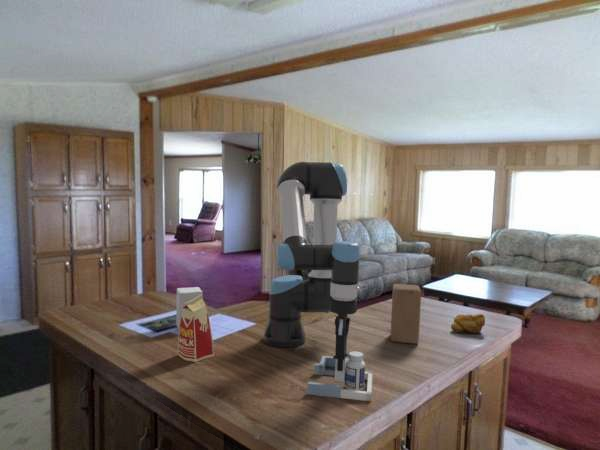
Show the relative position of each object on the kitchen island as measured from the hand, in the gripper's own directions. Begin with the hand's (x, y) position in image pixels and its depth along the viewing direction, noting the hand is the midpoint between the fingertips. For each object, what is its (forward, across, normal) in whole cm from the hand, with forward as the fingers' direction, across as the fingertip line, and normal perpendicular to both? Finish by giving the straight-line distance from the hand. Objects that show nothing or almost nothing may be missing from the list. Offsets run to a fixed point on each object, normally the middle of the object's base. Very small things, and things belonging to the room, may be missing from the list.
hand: (339, 380), depth 127 cm
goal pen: (+2, 0, -5) cm, 5 cm away
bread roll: (+1, +63, -45) cm, 77 cm away
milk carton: (+3, +11, +48) cm, 49 cm away
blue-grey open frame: (+2, +4, +3) cm, 5 cm away
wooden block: (+1, +47, -20) cm, 51 cm away
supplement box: (+2, +38, +62) cm, 73 cm away
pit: (+2, +10, +3) cm, 10 cm away
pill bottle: (+2, +1, -4) cm, 5 cm away
